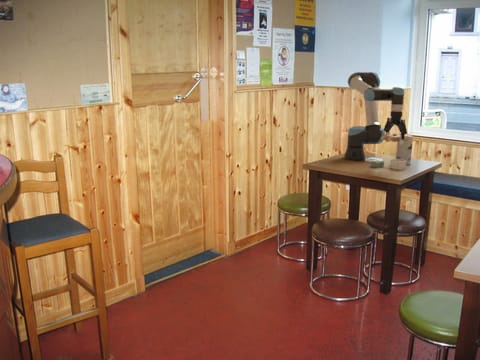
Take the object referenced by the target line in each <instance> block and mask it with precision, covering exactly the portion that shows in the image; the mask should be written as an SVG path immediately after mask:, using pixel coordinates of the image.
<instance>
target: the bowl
mask: <svg viewBox="0 0 480 360" xmlns="http://www.w3.org/2000/svg"><path fill="white" fill-rule="evenodd" d="M406 166H407V165H406V160H403V159H396V158H391V159H390V166H389V167H390V169H393V170H396V169H397V171H399V170H402V171H403V170H406Z"/></svg>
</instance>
